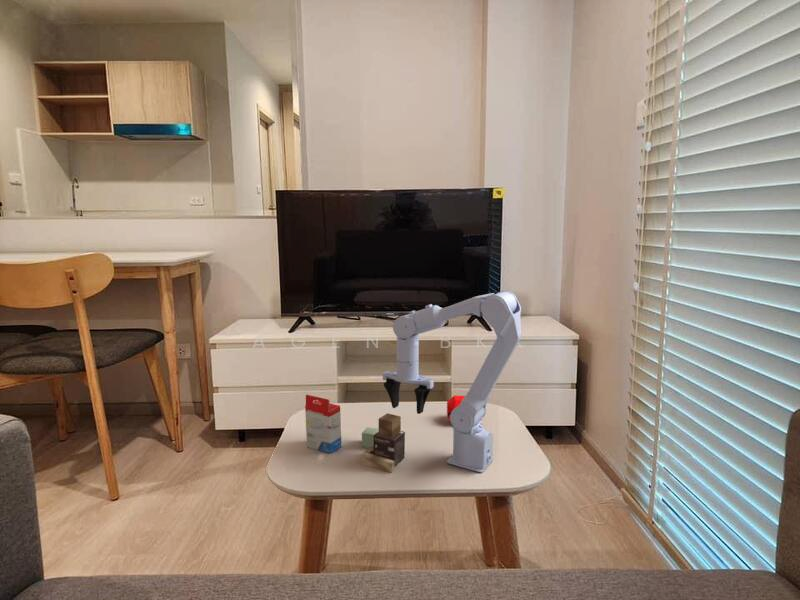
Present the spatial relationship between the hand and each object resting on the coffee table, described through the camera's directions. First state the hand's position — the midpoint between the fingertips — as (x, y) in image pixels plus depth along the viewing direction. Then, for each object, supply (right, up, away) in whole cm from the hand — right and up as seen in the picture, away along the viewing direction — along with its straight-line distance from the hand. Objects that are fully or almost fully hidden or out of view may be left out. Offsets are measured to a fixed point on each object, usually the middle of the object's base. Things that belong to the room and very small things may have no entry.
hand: (407, 409), depth 126 cm
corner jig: (-5, -11, -6) cm, 14 cm away
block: (-10, -10, +3) cm, 14 cm away
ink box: (-22, -11, +1) cm, 25 cm away
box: (-5, -12, -6) cm, 14 cm away
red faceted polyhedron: (+16, -8, +18) cm, 26 cm away
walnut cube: (-5, -4, -7) cm, 9 cm away
